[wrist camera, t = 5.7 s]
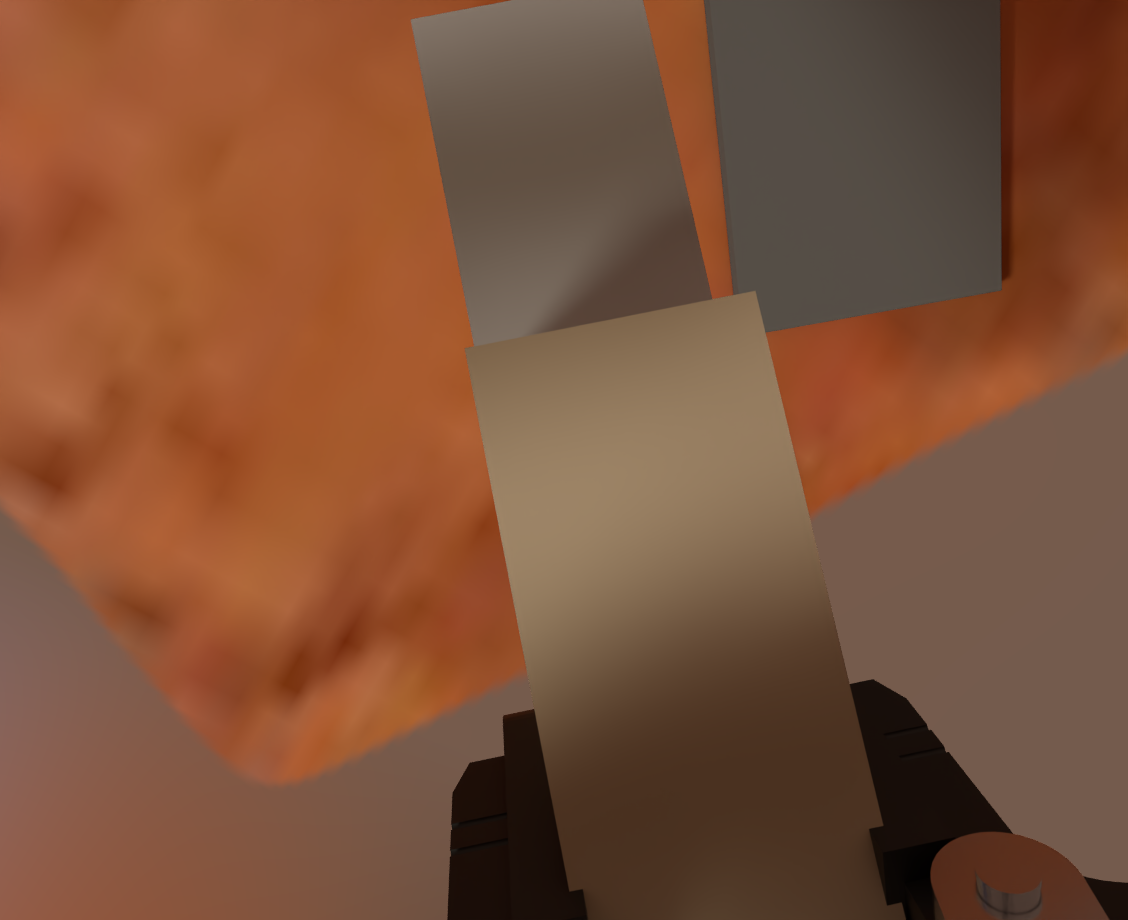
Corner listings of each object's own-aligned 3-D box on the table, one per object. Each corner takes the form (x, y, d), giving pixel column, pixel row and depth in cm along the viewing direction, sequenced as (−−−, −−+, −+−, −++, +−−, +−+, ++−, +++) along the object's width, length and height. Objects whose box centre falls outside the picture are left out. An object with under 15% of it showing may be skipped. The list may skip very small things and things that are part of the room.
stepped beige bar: (843, 1075, 13) (1016, 1379, 8) (635, 1120, 13) (679, 1457, 8) (623, 98, 15) (650, -145, 10) (442, 132, 15) (378, -94, 10)
